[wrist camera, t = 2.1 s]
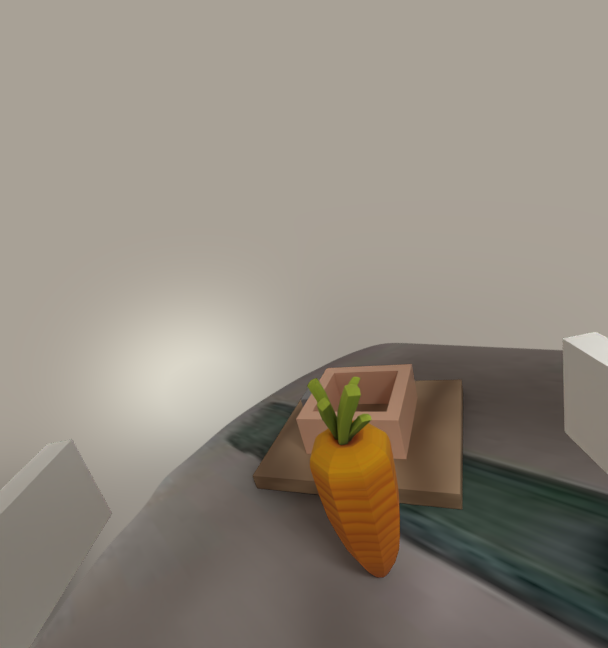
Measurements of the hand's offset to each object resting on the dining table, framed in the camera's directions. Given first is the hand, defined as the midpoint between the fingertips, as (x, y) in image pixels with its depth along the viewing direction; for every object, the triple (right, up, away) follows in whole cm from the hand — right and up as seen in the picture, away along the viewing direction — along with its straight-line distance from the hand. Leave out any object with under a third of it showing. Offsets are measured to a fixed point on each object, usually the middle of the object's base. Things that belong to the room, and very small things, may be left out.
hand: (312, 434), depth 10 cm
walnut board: (+6, -9, +29) cm, 31 cm away
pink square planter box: (+6, -7, +28) cm, 30 cm away
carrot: (+5, -14, +15) cm, 21 cm away
